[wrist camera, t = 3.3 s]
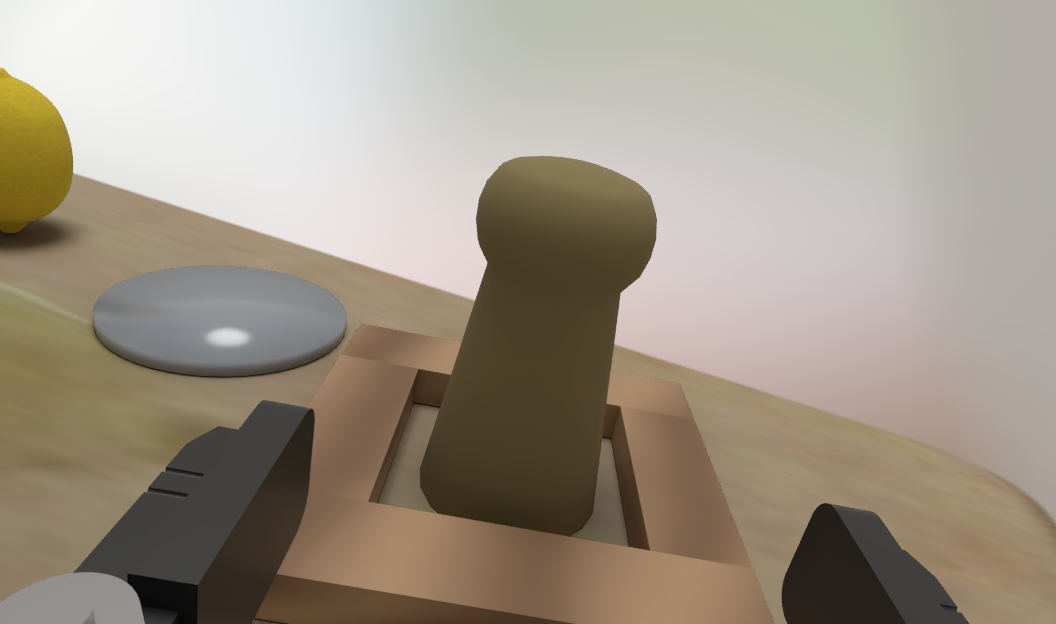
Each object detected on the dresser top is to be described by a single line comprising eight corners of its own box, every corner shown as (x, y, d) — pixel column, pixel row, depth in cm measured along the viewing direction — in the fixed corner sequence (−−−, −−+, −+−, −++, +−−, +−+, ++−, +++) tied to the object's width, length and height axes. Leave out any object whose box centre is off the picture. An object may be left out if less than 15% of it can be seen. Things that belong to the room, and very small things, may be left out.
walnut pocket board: (206, 610, 16) (207, 562, 15) (357, 354, 29) (360, 323, 28) (768, 701, 17) (788, 659, 16) (670, 412, 30) (680, 383, 29)
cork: (603, 559, 20) (711, 211, 16) (406, 530, 20) (465, 163, 16) (585, 446, 26) (662, 165, 22) (430, 420, 25) (478, 128, 21)
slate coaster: (33, 347, 25) (32, 332, 24) (172, 263, 34) (172, 251, 34) (303, 396, 25) (304, 382, 25) (368, 300, 34) (369, 289, 34)
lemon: (65, 255, 32) (52, 84, 29) (-82, 248, 30) (-112, 62, 27) (87, 220, 37) (78, 69, 34) (-39, 211, 35) (-60, 49, 32)
